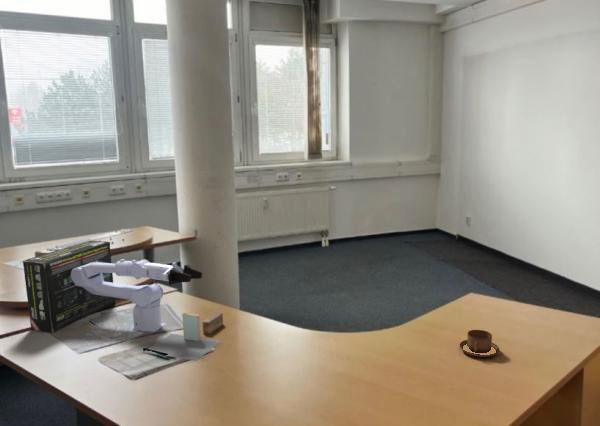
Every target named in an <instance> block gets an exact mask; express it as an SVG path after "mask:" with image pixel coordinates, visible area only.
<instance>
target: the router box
mask: <svg viewBox="0 0 600 426" xmlns="http://www.w3.org/2000/svg"><path fill="white" fill-rule="evenodd" d="M90 262H101V263H112V254H111V242H110V241H106V240H104V241H102V240H101V241H99V240H88V241H85V242H81V243H78V244H74V245H72V246H68V247H64V248H61V249H58V250H55V251H50V252H47V253H44V254H40V255H37V256H35V257H31V258H27V259H24V260H22V265H23V272H24V273H23V274H24V281H25V290H26V297H27V306H28V315H29V322H30V323H29V324H30V328H31V330H34V331H36V332H37V331H38V332H45V333H55V332H57V331H59V330H61V329H63V328H65V327H67V326H69V325H71V324H73V323H76V322H78V321H80V320H82V319H85V318H87V317H88V316H90V315H93V314H95V313H96V312H99V311H102V309H103V310H104V309H105V308H107V307H109V306H111V305H113V304H116V302H117V301H116V298H115V297H108V296H101V295H95V294H92V293H91V292H89V291H87V290H86V289H84V288H83V287H80V286H76V285H75V283H74V282H73V280H72V278H71V271H72V270H73V269H74V268H77V267H80V266H83V265H86V264H88V263H90ZM113 274H114V273H102V275H103V278H104V282H111V283H114V275H113Z"/></svg>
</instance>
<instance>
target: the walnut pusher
mask: <svg viewBox="0 0 600 426" xmlns="http://www.w3.org/2000/svg"><path fill="white" fill-rule="evenodd" d="M223 315H224V314H223V312H214V313H213V314H212V315H210V316H209V317H207V318H206V319H205V320H203V321H202V333H203V334H204V335H211V334H212V333H213V332H215V331H217V329H219V328H220V327H222V326H223V325H224V318H223V317H224V316H223Z"/></svg>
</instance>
